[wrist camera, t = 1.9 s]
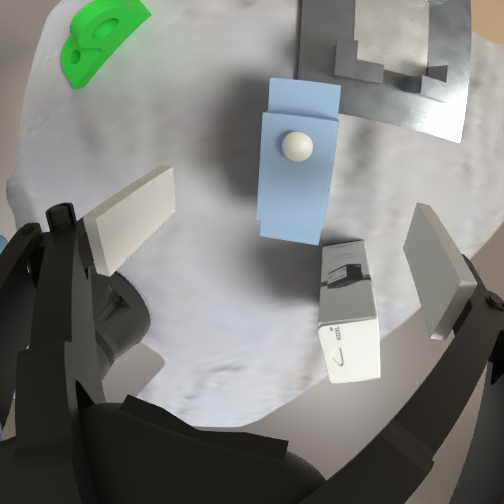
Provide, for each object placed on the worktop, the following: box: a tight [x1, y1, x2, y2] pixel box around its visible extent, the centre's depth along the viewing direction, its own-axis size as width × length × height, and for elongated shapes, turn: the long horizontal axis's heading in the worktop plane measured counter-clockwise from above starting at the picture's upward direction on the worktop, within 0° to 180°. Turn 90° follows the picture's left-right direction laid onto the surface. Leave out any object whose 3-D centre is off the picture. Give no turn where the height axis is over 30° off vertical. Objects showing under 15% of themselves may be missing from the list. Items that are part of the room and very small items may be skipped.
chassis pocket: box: [298, 0, 471, 143], centre depth 15 cm, size 16×20×6 cm
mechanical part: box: [61, 0, 151, 89], centre depth 20 cm, size 12×6×8 cm, turn 124°
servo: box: [256, 78, 341, 245], centre depth 23 cm, size 5×13×9 cm, turn 177°
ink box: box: [318, 240, 380, 384], centre depth 27 cm, size 8×5×12 cm, turn 19°
